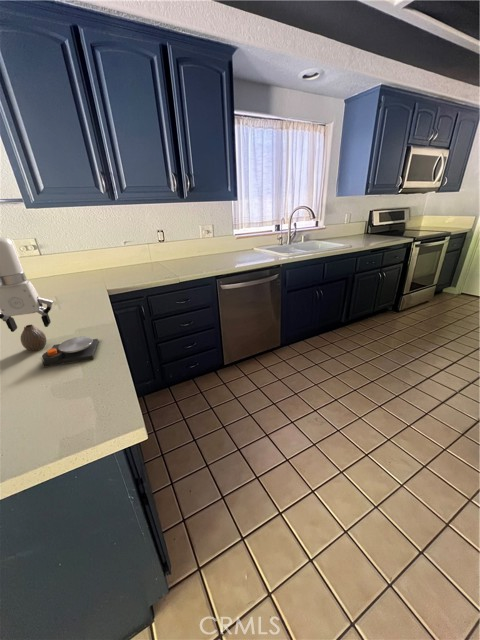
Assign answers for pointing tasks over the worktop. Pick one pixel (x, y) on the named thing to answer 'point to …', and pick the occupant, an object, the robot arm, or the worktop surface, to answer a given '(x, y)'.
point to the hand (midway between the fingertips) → (31, 327)
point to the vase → (33, 338)
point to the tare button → (52, 352)
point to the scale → (70, 355)
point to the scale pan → (75, 344)
